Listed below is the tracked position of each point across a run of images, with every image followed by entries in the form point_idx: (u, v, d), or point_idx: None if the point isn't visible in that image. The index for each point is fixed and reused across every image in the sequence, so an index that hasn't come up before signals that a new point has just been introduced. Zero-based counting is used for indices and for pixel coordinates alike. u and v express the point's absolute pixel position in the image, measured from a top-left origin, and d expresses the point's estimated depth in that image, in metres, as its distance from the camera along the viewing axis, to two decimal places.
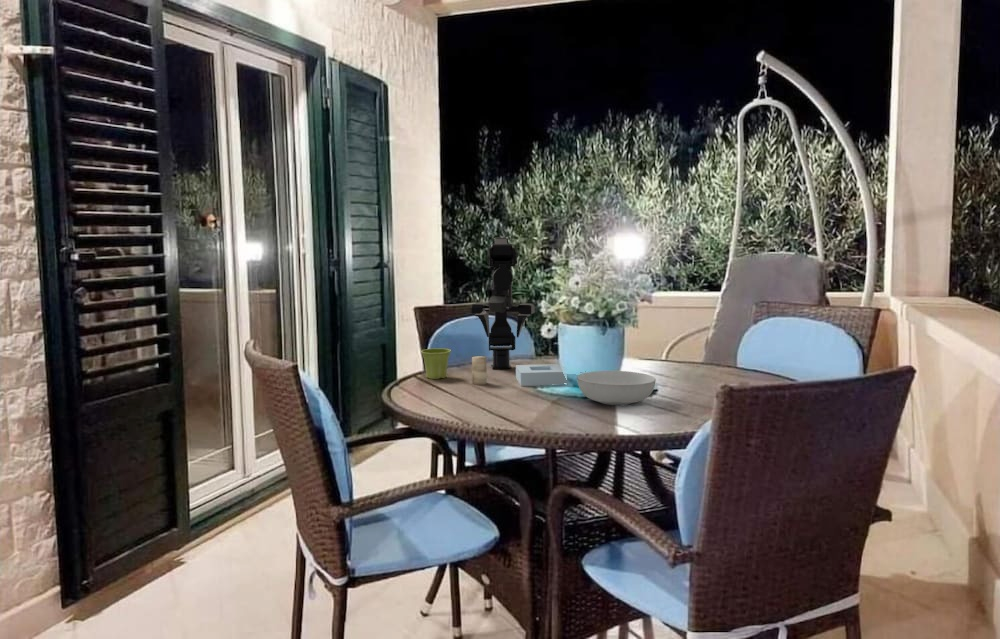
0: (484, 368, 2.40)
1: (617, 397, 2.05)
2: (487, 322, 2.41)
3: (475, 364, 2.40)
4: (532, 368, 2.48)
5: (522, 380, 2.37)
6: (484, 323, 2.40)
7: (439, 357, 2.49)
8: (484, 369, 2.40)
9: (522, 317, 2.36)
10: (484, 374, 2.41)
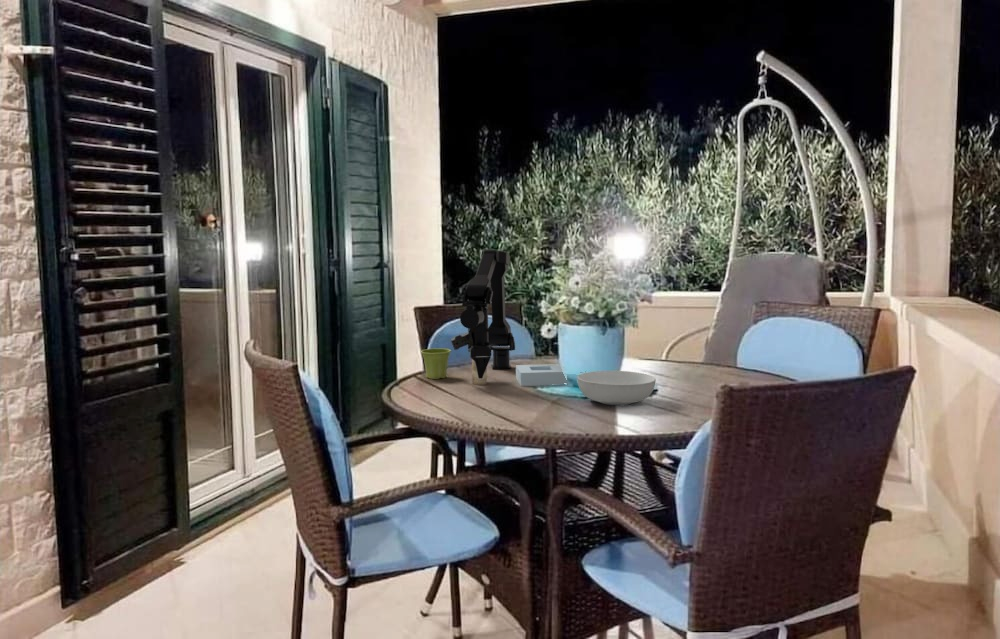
0: None
1: (617, 397, 2.05)
2: None
3: (475, 364, 2.40)
4: (532, 368, 2.48)
5: (522, 380, 2.37)
6: None
7: (439, 357, 2.49)
8: None
9: (471, 358, 2.35)
10: (484, 374, 2.41)
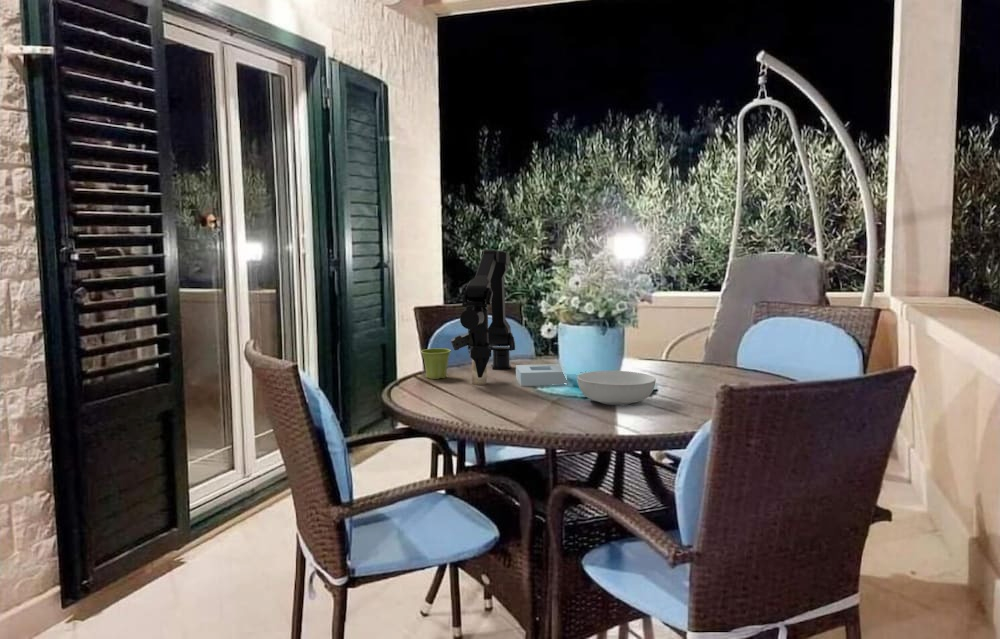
0: None
1: (617, 397, 2.05)
2: None
3: None
4: (532, 368, 2.48)
5: (522, 380, 2.37)
6: None
7: (439, 357, 2.49)
8: None
9: None
10: (484, 374, 2.41)
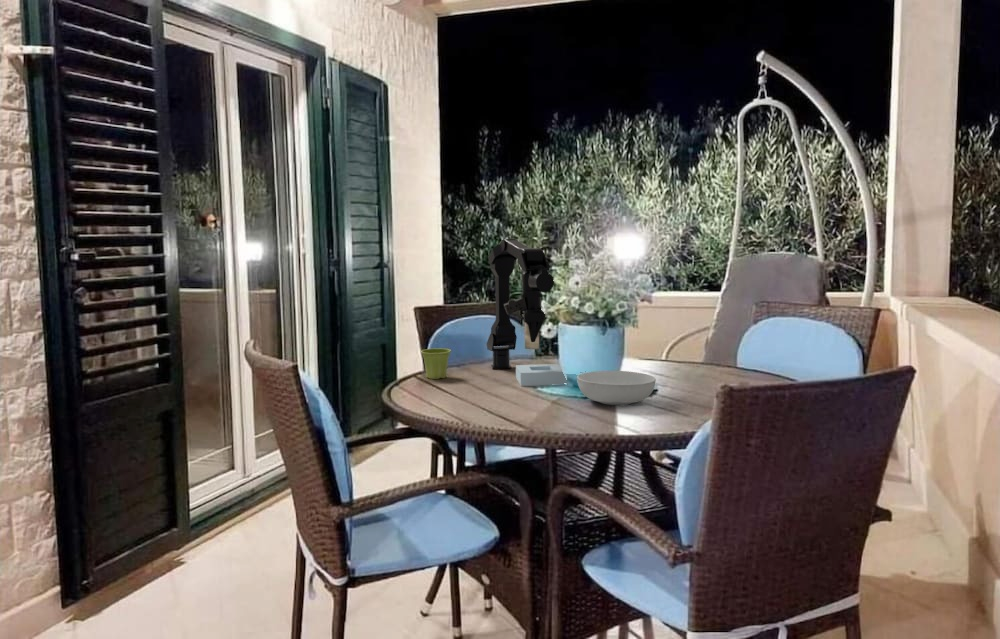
0: None
1: (617, 397, 2.05)
2: None
3: (528, 328, 2.41)
4: (532, 368, 2.48)
5: (522, 380, 2.37)
6: None
7: (439, 357, 2.49)
8: None
9: (525, 322, 2.38)
10: (537, 339, 2.41)
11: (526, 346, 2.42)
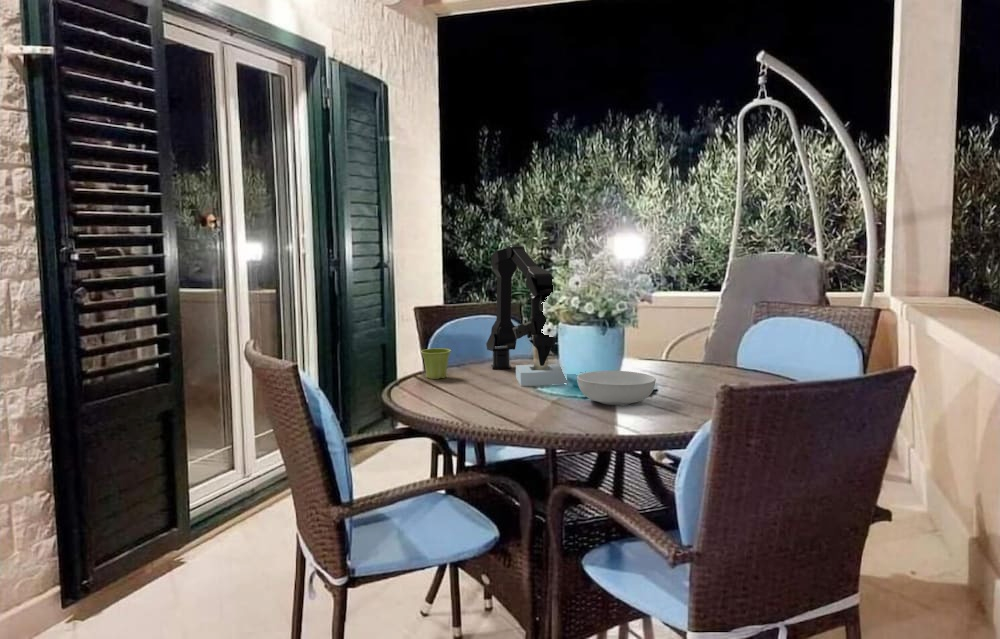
0: None
1: (617, 397, 2.05)
2: None
3: (537, 352, 2.42)
4: (532, 368, 2.48)
5: (522, 380, 2.37)
6: None
7: (439, 357, 2.49)
8: None
9: None
10: (546, 362, 2.43)
11: (535, 369, 2.43)
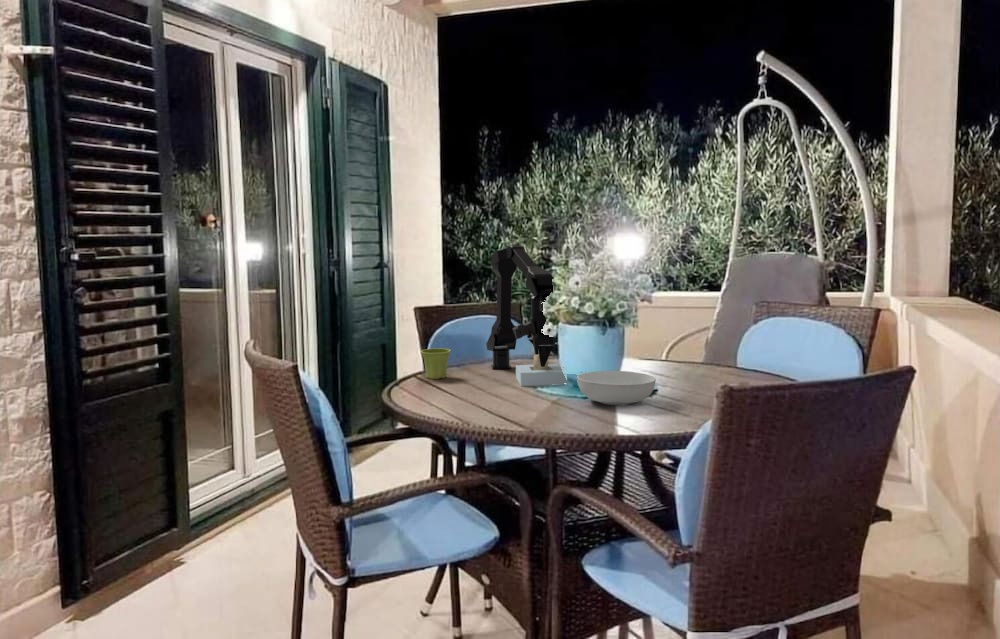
0: (546, 366, 2.43)
1: (617, 397, 2.05)
2: None
3: (537, 362, 2.42)
4: (532, 368, 2.48)
5: (522, 380, 2.37)
6: (534, 348, 2.49)
7: (439, 357, 2.49)
8: (546, 367, 2.43)
9: (535, 347, 2.37)
10: None
11: None
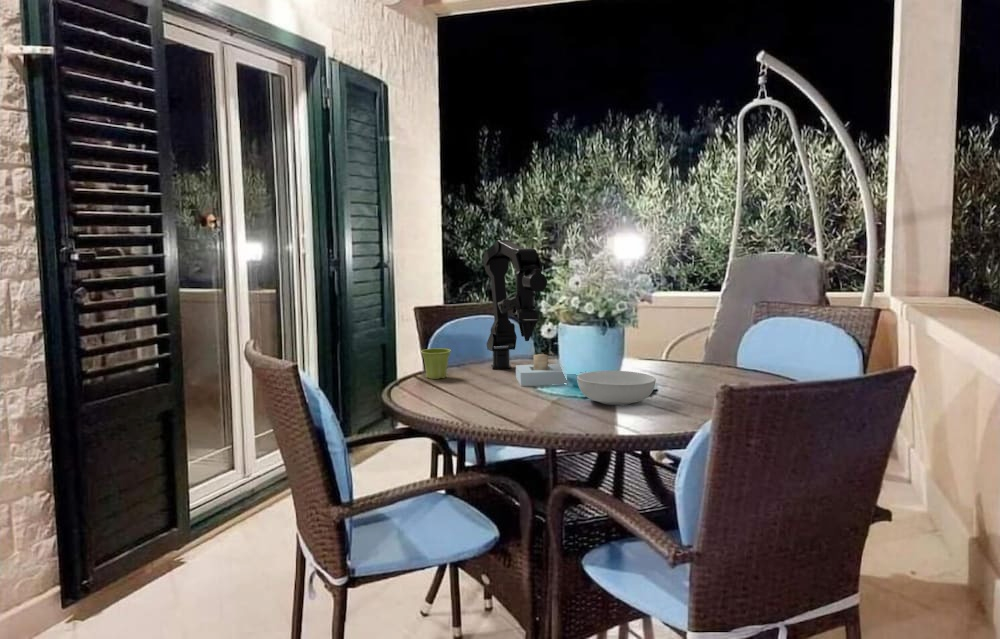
0: (546, 366, 2.43)
1: (617, 397, 2.05)
2: None
3: (537, 362, 2.42)
4: (532, 368, 2.48)
5: (522, 380, 2.37)
6: None
7: (439, 357, 2.49)
8: (546, 367, 2.43)
9: (519, 321, 2.42)
10: None
11: None
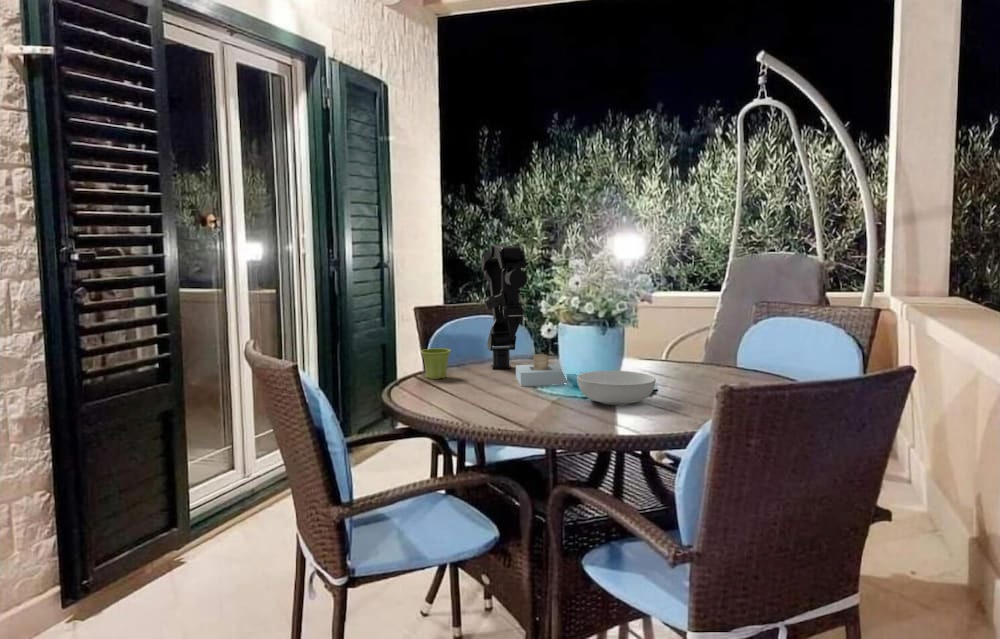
0: (546, 366, 2.43)
1: (617, 397, 2.05)
2: None
3: (537, 362, 2.42)
4: (532, 368, 2.48)
5: (522, 380, 2.37)
6: (505, 320, 2.58)
7: (439, 357, 2.49)
8: (546, 367, 2.43)
9: None
10: None
11: None
